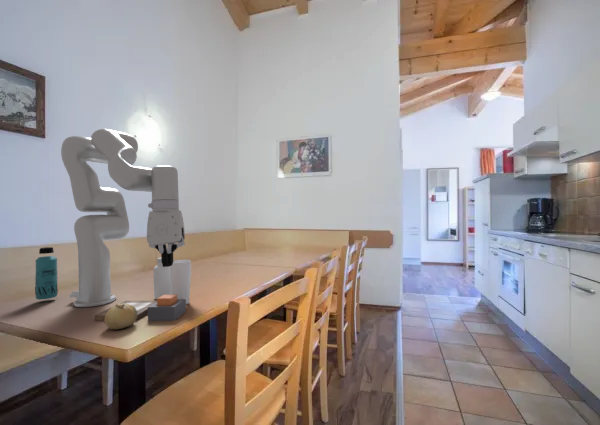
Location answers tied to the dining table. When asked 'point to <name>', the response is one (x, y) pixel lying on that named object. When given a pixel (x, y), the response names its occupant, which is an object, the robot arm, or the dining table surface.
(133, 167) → the robot arm
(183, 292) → the drinking glass
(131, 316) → the onion
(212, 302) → the dining table surface
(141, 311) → the pallet
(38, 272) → the beverage bottle
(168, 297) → the button
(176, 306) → the button housing
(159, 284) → the pill bottle
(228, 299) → the dining table surface
